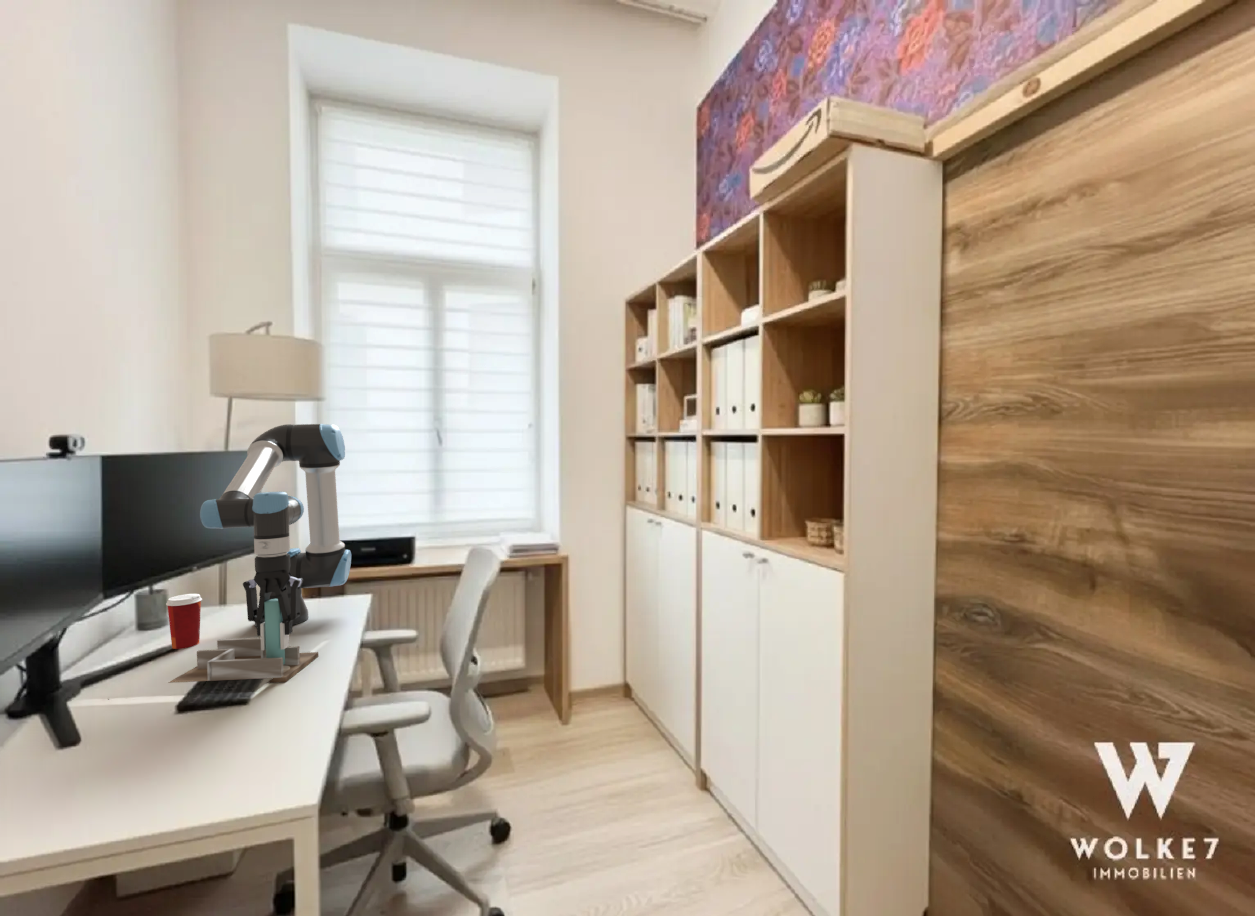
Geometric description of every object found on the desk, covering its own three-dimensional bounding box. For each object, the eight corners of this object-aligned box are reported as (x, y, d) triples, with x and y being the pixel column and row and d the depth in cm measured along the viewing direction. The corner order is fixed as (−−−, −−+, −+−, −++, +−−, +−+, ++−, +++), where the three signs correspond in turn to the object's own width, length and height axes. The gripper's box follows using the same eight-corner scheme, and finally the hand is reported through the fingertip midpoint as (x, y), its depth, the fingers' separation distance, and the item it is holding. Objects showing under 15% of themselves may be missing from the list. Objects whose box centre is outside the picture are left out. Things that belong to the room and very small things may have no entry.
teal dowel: (271, 661, 145) (269, 598, 145) (288, 661, 146) (286, 598, 145) (262, 667, 141) (260, 603, 141) (279, 667, 142) (277, 602, 141)
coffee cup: (211, 644, 168) (209, 593, 168) (186, 654, 160) (184, 600, 160) (184, 643, 169) (182, 593, 169) (159, 654, 161) (157, 600, 160)
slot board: (214, 660, 155) (213, 639, 155) (318, 656, 157) (317, 635, 156) (168, 687, 138) (167, 663, 138) (285, 682, 140) (285, 658, 140)
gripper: (227, 558, 139) (230, 654, 139) (300, 556, 140) (303, 651, 140) (245, 552, 146) (248, 644, 147) (315, 550, 147) (317, 641, 148)
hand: (275, 647), depth 144 cm, fingers closed on teal dowel, 4 cm apart
